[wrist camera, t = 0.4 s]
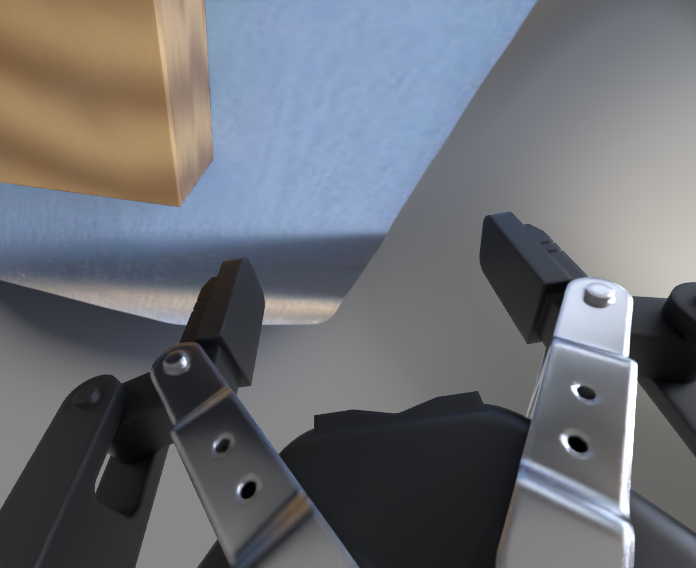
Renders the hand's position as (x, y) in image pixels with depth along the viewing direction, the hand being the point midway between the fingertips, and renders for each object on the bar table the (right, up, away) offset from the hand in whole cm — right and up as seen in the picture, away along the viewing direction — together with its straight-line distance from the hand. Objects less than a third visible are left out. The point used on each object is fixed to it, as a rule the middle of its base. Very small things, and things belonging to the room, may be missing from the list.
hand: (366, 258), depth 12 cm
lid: (-19, +13, +10) cm, 25 cm away
